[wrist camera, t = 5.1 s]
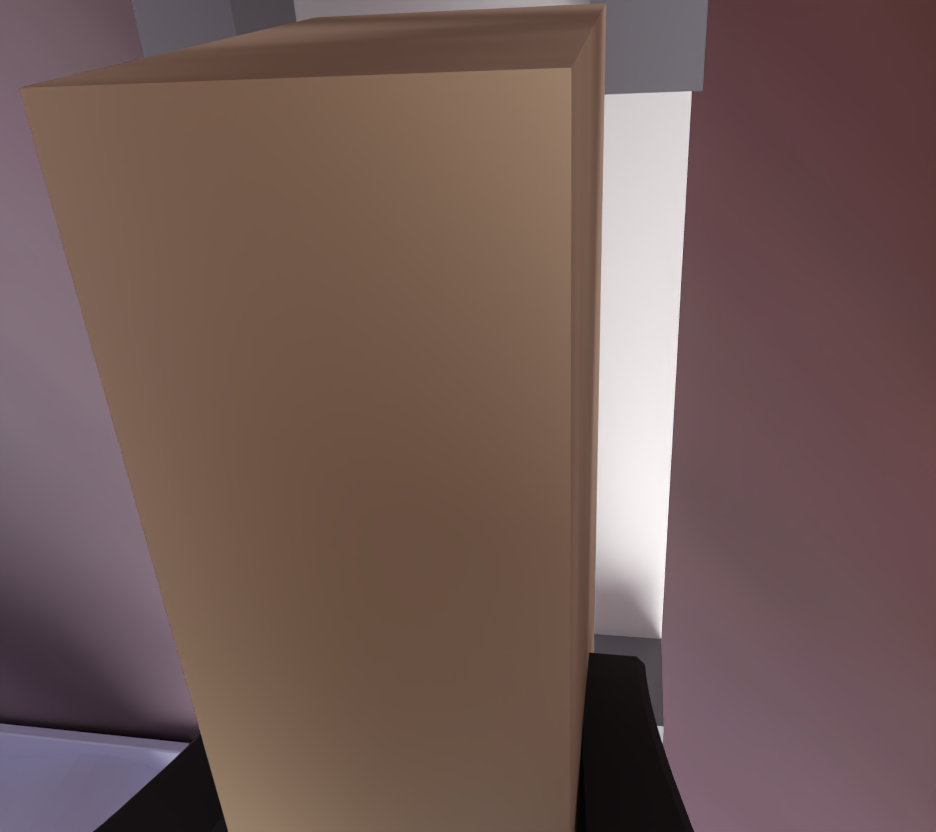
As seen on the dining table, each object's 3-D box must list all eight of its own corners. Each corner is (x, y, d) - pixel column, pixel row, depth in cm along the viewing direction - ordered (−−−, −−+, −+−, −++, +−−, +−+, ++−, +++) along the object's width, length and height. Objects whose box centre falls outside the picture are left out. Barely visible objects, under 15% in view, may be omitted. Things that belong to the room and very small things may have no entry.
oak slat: (430, 934, 17) (356, 1285, 12) (315, 17, 9) (18, 85, 5) (587, 957, 16) (569, 1331, 12) (605, 2, 9) (571, 68, 4)
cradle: (356, 715, 24) (315, 828, 21) (196, -217, 14) (73, -260, 11) (652, 743, 22) (654, 869, 19) (707, -274, 13) (729, -342, 10)
